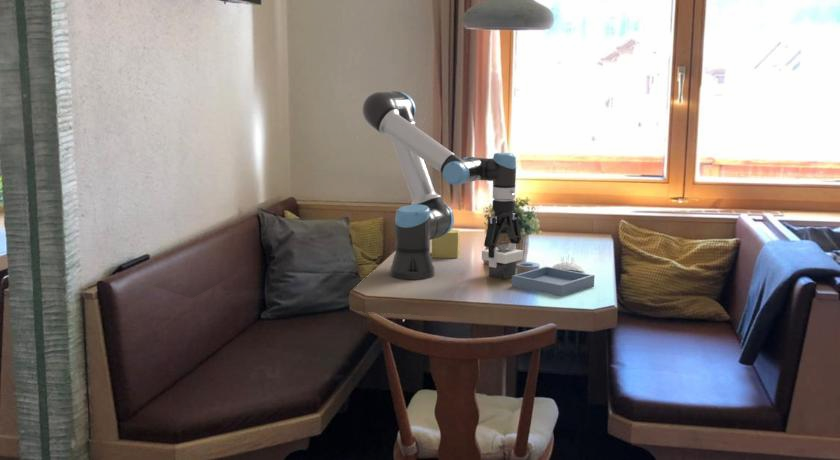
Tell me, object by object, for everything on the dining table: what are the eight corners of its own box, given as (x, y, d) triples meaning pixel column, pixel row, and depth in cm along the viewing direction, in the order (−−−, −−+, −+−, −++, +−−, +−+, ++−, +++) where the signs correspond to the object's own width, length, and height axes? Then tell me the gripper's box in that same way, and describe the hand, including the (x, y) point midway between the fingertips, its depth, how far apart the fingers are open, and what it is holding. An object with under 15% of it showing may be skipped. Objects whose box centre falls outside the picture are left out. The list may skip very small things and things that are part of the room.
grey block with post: (503, 279, 288) (504, 248, 286) (488, 276, 293) (489, 245, 291) (515, 276, 293) (516, 245, 291) (500, 273, 297) (501, 242, 295)
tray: (561, 296, 267) (561, 285, 266) (511, 286, 280) (512, 275, 279) (594, 285, 281) (594, 275, 280) (545, 276, 293) (545, 266, 293)
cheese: (459, 253, 332) (460, 227, 330) (458, 259, 321) (458, 232, 319) (433, 252, 333) (433, 227, 331) (430, 258, 322) (430, 232, 320)
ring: (505, 263, 285) (505, 255, 284) (477, 258, 293) (477, 249, 292) (523, 259, 292) (523, 250, 291) (495, 254, 300) (495, 245, 299)
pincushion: (585, 270, 304) (586, 254, 303) (584, 274, 298) (584, 258, 297) (551, 268, 307) (552, 252, 306) (549, 272, 301) (549, 256, 300)
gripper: (491, 204, 277) (490, 271, 281) (532, 197, 294) (531, 261, 298) (473, 201, 282) (472, 268, 286) (515, 195, 299) (513, 257, 303)
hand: (502, 264), depth 292 cm, fingers closed on ring, 10 cm apart
